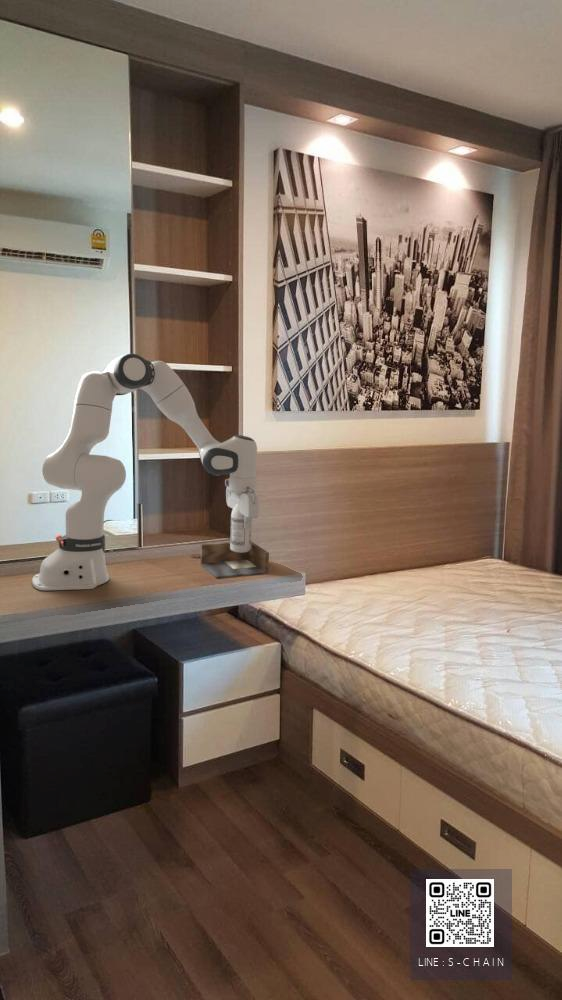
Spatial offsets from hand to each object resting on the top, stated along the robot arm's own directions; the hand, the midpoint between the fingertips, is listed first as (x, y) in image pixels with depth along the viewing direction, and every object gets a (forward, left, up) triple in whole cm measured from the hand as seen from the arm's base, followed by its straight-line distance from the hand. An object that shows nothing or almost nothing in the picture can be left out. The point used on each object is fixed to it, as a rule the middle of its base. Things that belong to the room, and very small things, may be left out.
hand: (241, 525), depth 240 cm
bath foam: (0, 0, -9) cm, 9 cm away
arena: (-3, -3, -14) cm, 15 cm away
